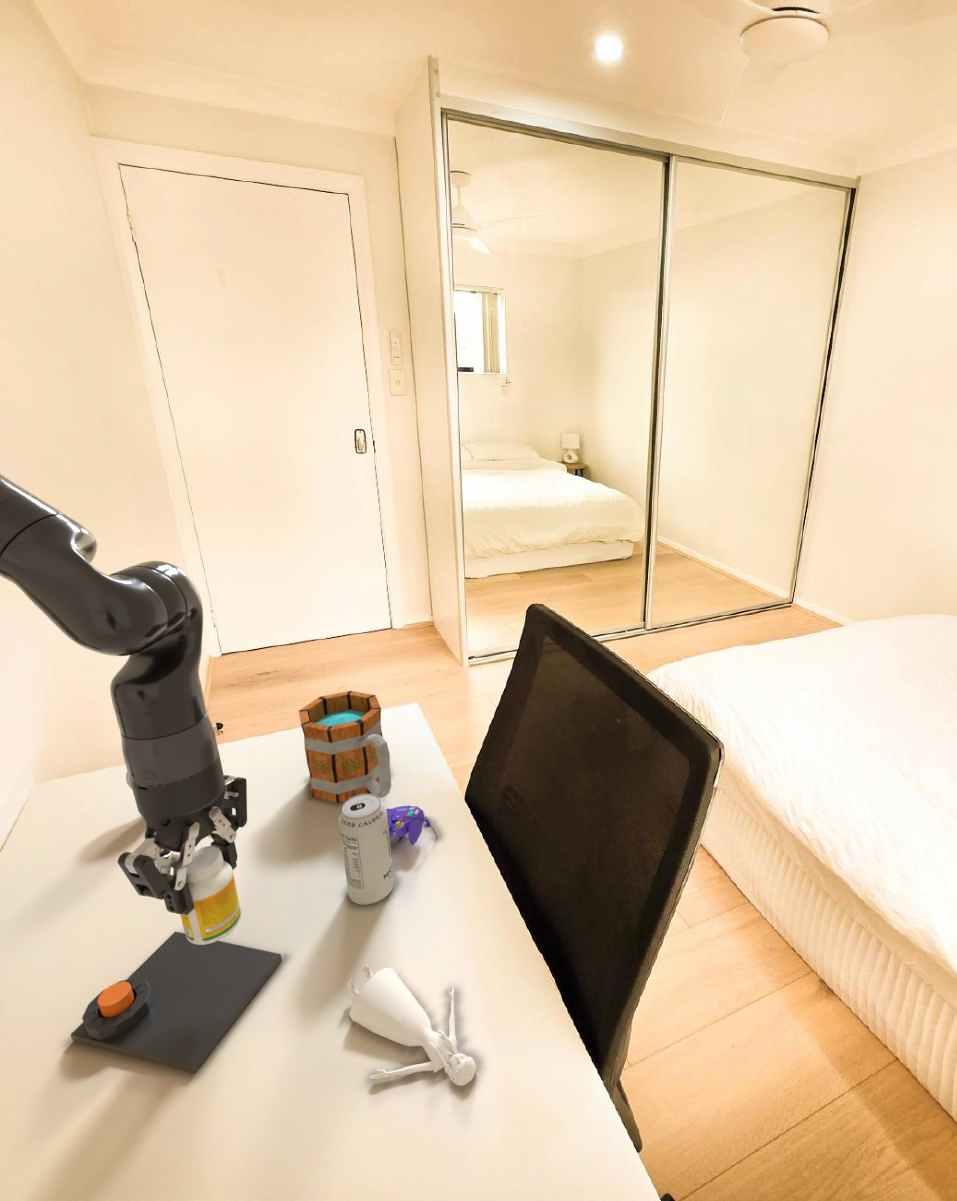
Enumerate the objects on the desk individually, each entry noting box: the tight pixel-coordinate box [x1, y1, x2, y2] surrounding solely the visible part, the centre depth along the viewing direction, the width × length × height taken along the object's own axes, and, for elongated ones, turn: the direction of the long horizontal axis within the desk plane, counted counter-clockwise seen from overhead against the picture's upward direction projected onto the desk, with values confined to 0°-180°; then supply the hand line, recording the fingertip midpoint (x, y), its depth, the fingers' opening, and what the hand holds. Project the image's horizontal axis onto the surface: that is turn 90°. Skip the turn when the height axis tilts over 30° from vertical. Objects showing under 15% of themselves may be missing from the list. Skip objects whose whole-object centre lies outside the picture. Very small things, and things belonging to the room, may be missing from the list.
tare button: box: [98, 981, 134, 1018], centre depth 64 cm, size 3×3×2 cm
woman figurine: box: [346, 964, 477, 1087], centre depth 65 cm, size 12×4×18 cm
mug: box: [298, 690, 392, 804], centre depth 102 cm, size 20×14×15 cm
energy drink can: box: [337, 793, 395, 906], centre depth 81 cm, size 6×6×15 cm
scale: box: [70, 931, 283, 1074], centre depth 67 cm, size 15×13×4 cm
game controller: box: [386, 805, 438, 845], centre depth 92 cm, size 10×8×10 cm
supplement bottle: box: [179, 845, 242, 945], centre depth 65 cm, size 5×5×10 cm
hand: (205, 888), depth 65 cm, fingers closed on supplement bottle, 5 cm apart
